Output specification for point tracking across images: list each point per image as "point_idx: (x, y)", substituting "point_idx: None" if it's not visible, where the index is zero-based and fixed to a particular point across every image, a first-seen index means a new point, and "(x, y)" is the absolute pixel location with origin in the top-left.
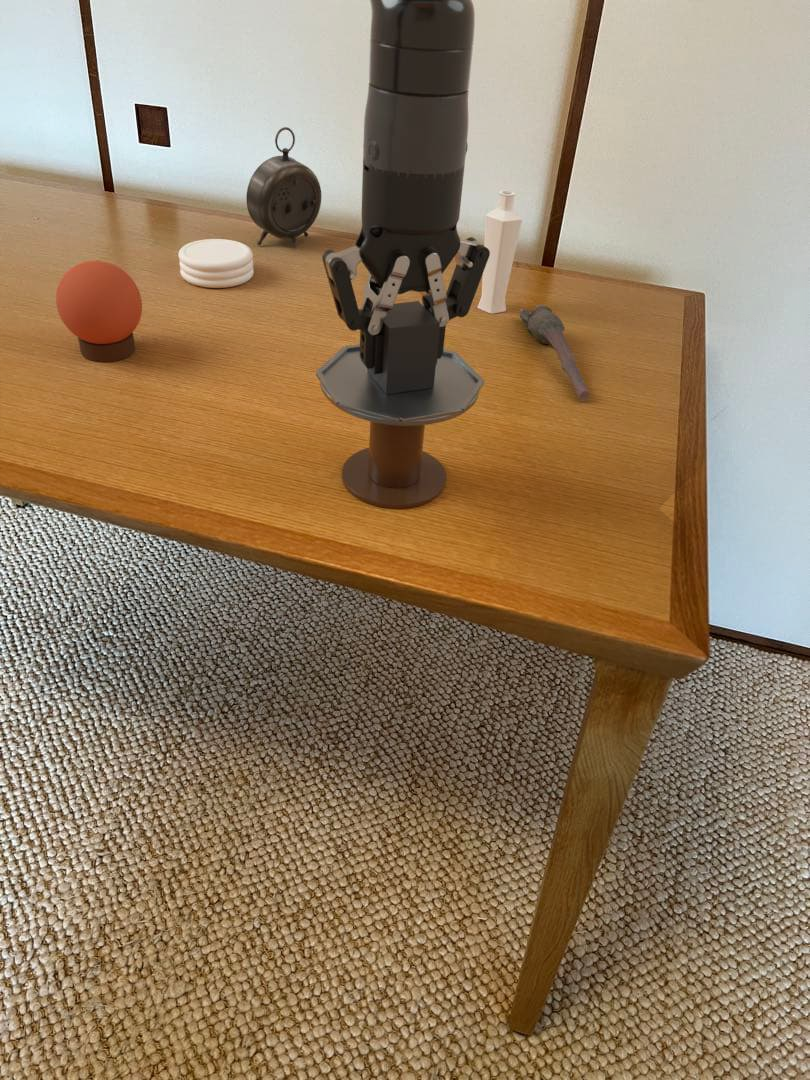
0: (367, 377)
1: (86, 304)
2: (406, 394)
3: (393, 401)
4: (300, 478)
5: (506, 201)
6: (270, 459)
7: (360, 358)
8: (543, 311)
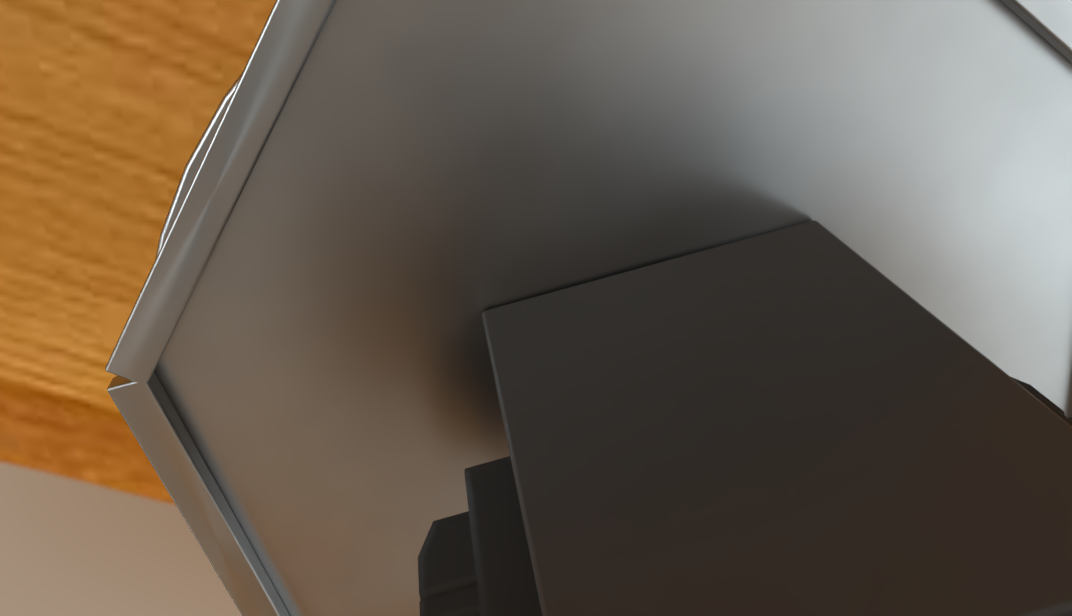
0: (473, 388)
1: None
2: None
3: None
4: (181, 158)
5: None
6: (18, 7)
7: (424, 547)
8: None
